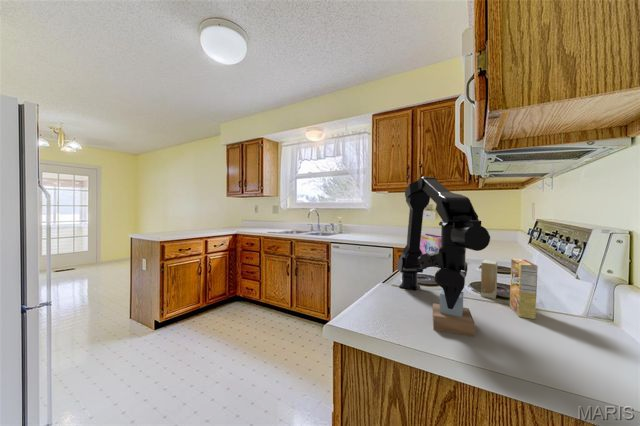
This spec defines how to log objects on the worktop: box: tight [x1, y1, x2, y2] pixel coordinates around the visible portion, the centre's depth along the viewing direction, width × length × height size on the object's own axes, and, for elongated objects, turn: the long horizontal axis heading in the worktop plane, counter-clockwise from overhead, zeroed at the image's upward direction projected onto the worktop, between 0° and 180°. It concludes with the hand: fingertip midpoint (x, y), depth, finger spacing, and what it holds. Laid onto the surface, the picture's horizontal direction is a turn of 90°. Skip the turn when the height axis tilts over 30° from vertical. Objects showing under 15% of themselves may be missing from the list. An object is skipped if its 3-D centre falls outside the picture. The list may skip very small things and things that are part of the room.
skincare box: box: [480, 259, 498, 300], centre depth 89 cm, size 6×4×12 cm
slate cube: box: [439, 288, 464, 317], centre depth 66 cm, size 5×5×5 cm
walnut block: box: [432, 302, 476, 338], centre depth 66 cm, size 9×9×4 cm
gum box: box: [420, 233, 441, 254], centre depth 160 cm, size 24×8×14 cm, turn 11°
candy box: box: [509, 258, 539, 320], centre depth 75 cm, size 9×4×15 cm, turn 157°
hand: (452, 302), depth 66 cm, fingers open, 9 cm apart
